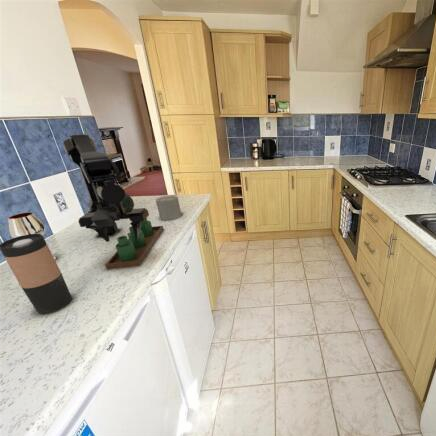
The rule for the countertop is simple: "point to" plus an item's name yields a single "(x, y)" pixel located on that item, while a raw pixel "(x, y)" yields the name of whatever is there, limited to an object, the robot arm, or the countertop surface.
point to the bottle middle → (136, 242)
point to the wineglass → (25, 225)
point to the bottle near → (146, 228)
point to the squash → (127, 203)
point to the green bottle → (125, 249)
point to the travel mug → (37, 272)
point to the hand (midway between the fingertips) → (122, 239)
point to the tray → (140, 252)
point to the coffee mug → (168, 207)
